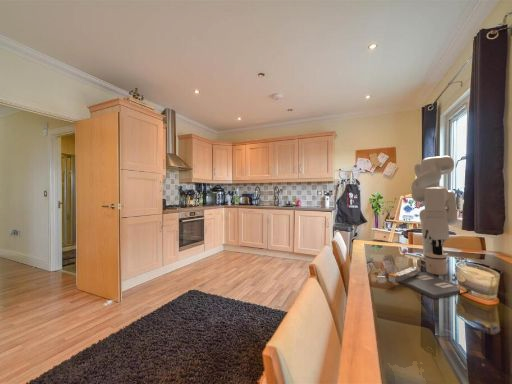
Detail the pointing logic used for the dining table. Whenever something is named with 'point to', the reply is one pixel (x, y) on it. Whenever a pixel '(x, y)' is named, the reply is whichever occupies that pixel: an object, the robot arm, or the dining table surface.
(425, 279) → the tray
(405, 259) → the dining table surface
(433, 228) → the robot arm
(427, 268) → the teacup with lid
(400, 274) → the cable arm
